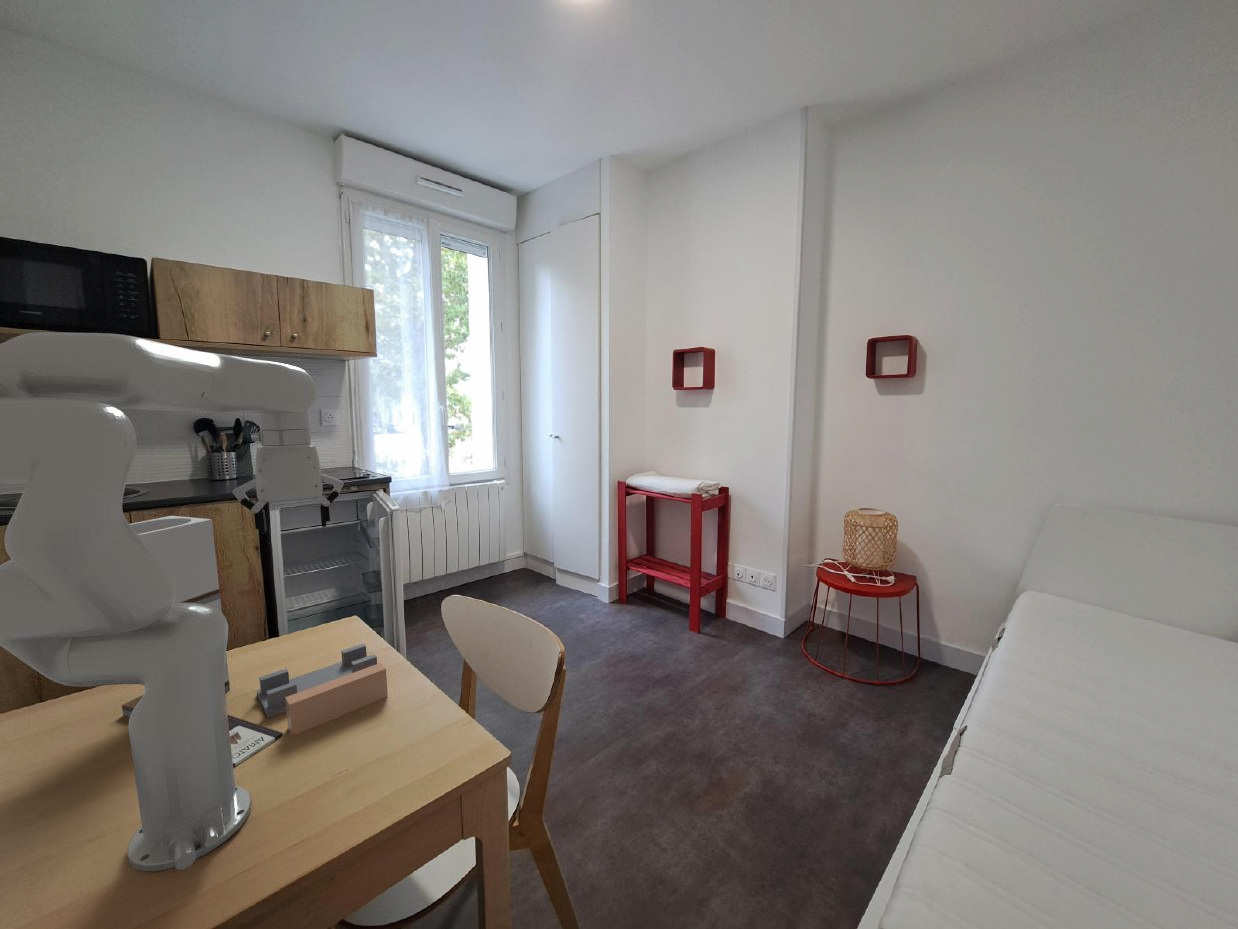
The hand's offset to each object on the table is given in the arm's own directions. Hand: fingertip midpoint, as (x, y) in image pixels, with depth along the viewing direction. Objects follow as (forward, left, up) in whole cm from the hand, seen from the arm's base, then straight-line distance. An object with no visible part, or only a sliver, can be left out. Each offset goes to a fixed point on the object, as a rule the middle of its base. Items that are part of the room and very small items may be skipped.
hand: (294, 528), depth 93 cm
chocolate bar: (-5, +14, -34) cm, 37 cm away
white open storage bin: (+14, +18, -34) cm, 41 cm away
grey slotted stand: (+1, -3, -33) cm, 33 cm away
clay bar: (-11, -3, -34) cm, 35 cm away
